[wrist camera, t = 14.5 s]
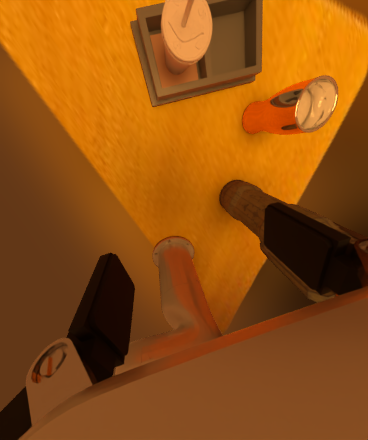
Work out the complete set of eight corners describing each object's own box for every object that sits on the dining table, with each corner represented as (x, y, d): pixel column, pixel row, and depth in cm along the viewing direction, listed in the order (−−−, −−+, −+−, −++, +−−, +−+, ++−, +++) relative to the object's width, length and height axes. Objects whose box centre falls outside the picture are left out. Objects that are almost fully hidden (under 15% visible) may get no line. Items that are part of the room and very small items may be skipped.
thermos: (256, 199, 45) (482, 328, 14) (219, 217, 45) (363, 379, 15) (251, 171, 41) (558, 267, 10) (210, 190, 41) (388, 341, 10)
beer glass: (234, 118, 34) (286, 106, 21) (258, 90, 33) (331, 58, 20) (250, 142, 37) (305, 144, 24) (274, 118, 36) (345, 105, 23)
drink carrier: (252, 81, 32) (266, 73, 28) (152, 107, 31) (153, 102, 27) (251, -1, 26) (269, -26, 23) (130, 25, 25) (127, 4, 21)
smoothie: (157, 30, 25) (164, -72, 13) (195, 38, 26) (234, -48, 14) (157, 81, 28) (164, 37, 16) (192, 86, 29) (222, 49, 17)
